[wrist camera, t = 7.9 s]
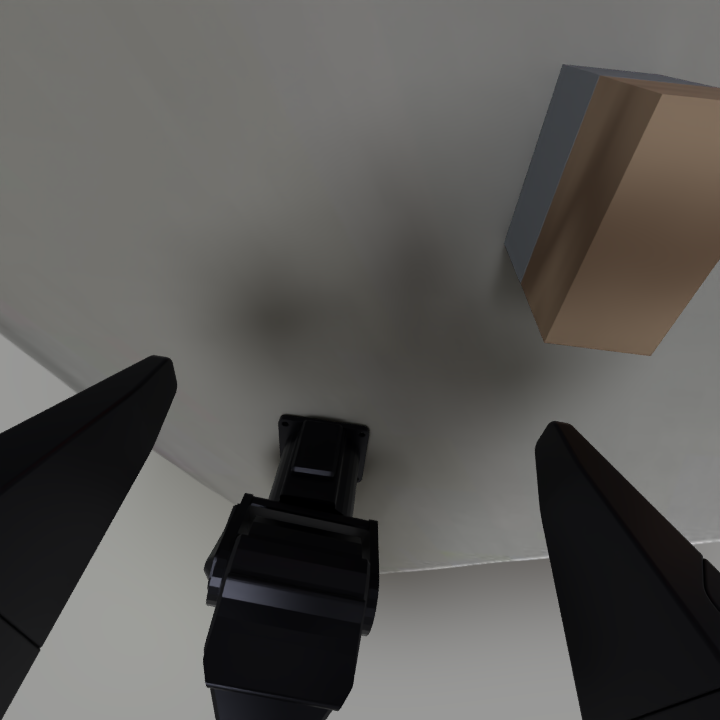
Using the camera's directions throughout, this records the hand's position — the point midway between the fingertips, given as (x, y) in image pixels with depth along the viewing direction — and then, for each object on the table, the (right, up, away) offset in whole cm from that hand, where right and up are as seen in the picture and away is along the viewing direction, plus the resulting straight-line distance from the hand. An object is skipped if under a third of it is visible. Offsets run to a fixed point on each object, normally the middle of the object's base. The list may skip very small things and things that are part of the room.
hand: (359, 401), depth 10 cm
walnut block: (+9, +7, +5) cm, 12 cm away
